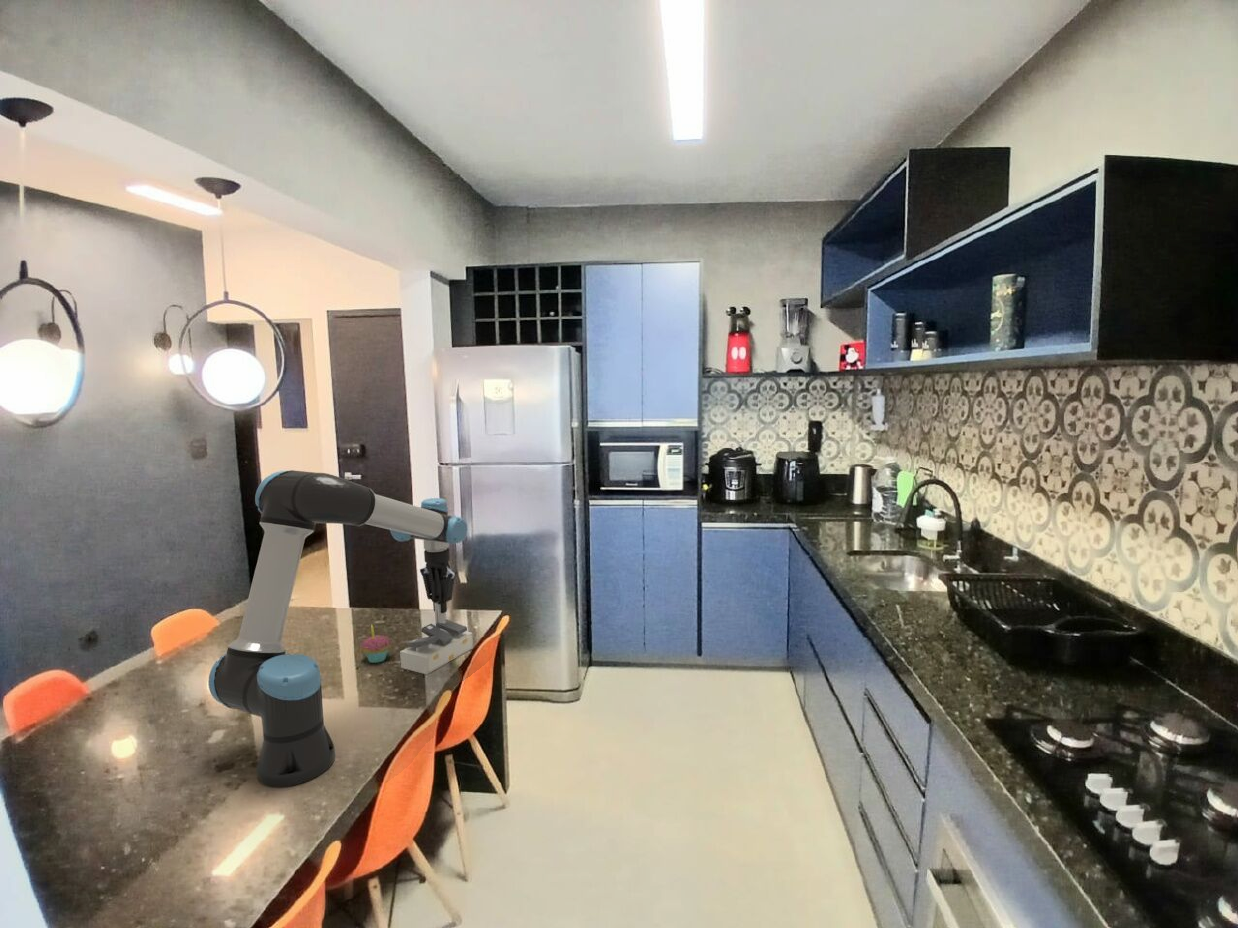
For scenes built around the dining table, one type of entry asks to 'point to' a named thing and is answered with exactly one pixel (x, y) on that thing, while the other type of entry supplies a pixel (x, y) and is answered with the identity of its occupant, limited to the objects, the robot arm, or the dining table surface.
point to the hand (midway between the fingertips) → (440, 621)
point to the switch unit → (435, 653)
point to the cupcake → (376, 647)
